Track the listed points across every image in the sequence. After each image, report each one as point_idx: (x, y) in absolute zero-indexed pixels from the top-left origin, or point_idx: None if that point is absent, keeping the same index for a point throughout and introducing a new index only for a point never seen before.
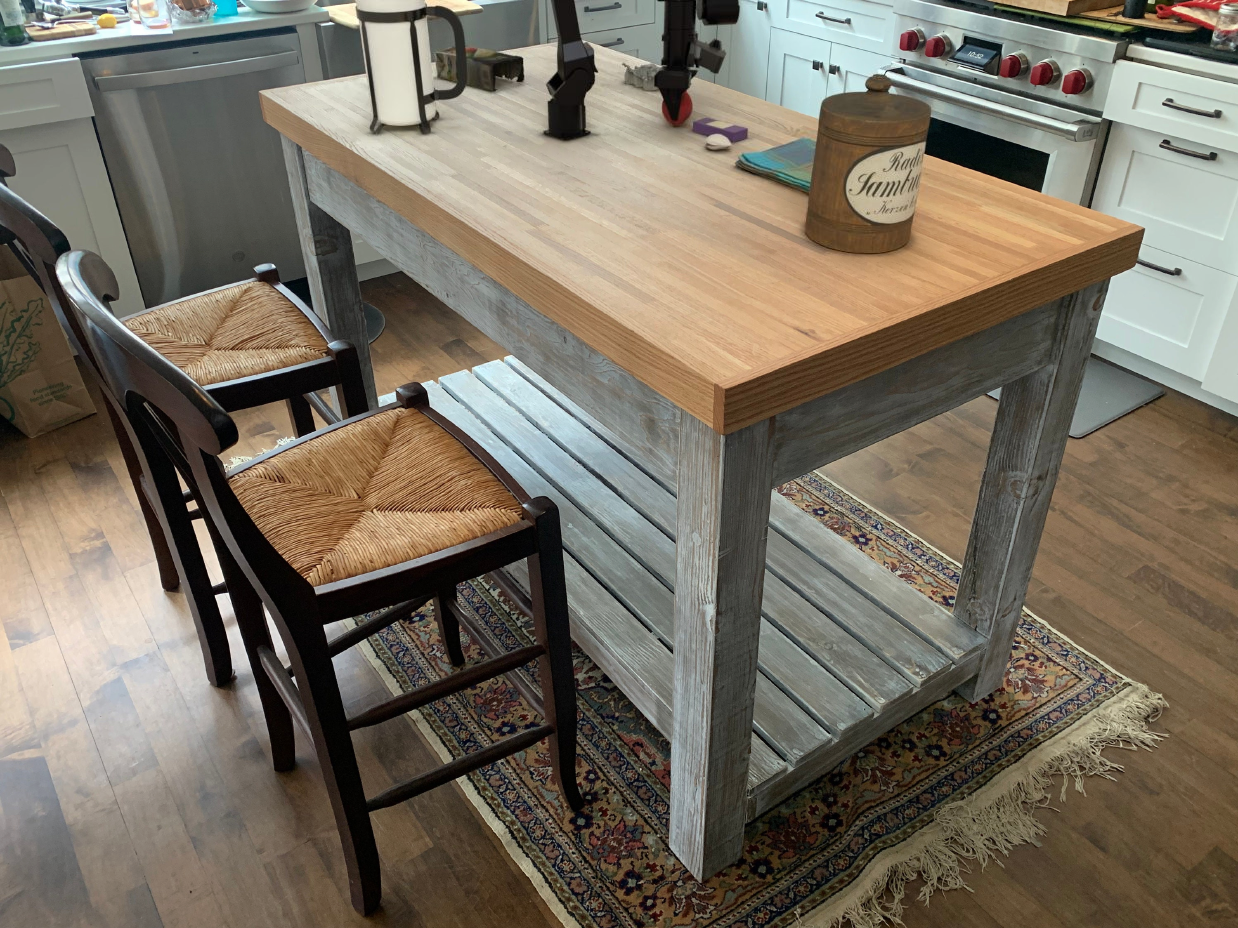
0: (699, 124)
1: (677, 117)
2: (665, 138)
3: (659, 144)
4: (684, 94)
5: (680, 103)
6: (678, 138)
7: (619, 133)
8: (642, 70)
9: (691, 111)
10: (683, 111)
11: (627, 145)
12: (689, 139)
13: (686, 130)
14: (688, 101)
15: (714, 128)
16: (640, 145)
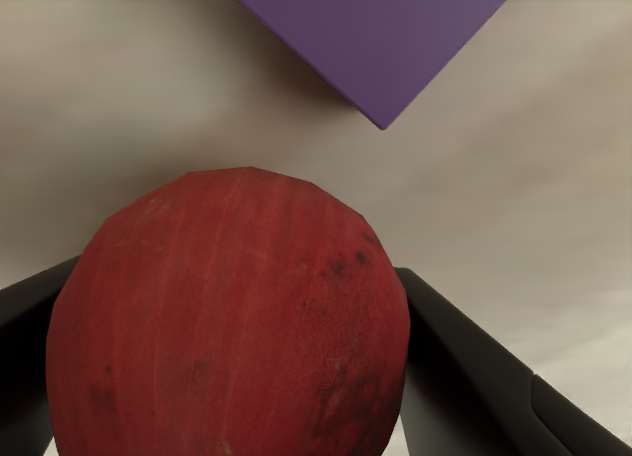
0: (451, 55)
1: (426, 284)
2: (515, 275)
3: (629, 296)
4: (301, 418)
5: (543, 384)
6: (531, 202)
7: (402, 446)
8: None
9: (272, 178)
10: (393, 268)
11: (596, 411)
12: (573, 124)
13: (334, 157)
14: (322, 287)
15: None
16: (614, 370)
